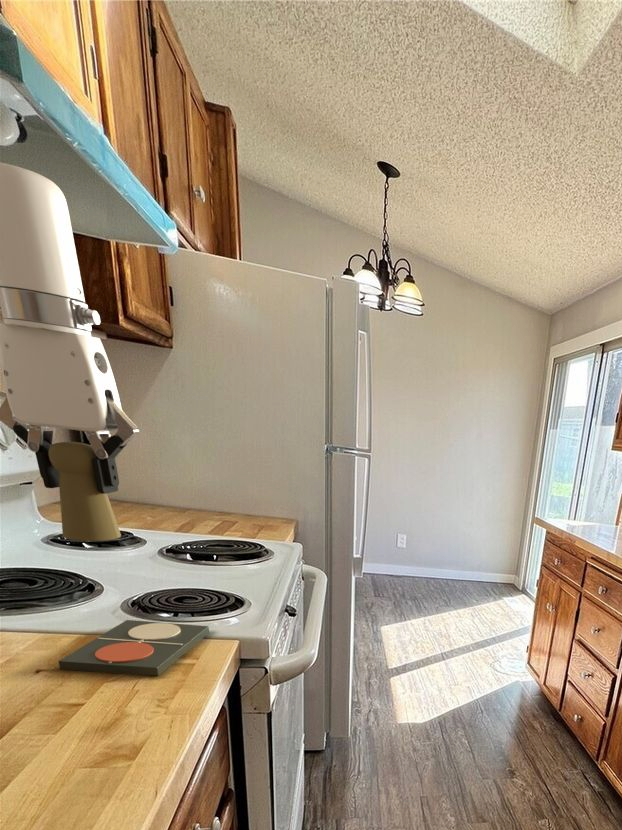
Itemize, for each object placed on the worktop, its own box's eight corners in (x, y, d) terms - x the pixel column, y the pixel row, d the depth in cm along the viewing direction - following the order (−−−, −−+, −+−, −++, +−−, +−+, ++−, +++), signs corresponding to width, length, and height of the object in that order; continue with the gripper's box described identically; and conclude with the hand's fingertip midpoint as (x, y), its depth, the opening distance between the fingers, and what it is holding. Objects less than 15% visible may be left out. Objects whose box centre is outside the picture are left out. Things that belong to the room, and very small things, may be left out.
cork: (49, 535, 68) (26, 439, 64) (94, 528, 74) (75, 439, 69) (90, 543, 67) (70, 446, 63) (132, 535, 73) (116, 445, 68)
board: (60, 669, 72) (57, 659, 71) (128, 627, 86) (126, 618, 85) (158, 676, 73) (156, 666, 72) (209, 633, 87) (208, 624, 87)
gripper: (147, 331, 65) (170, 493, 73) (-14, 310, 63) (28, 478, 71) (110, 322, 58) (140, 501, 66) (-71, 297, 56) (-18, 485, 64)
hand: (82, 487), depth 68 cm, fingers closed on cork, 5 cm apart
